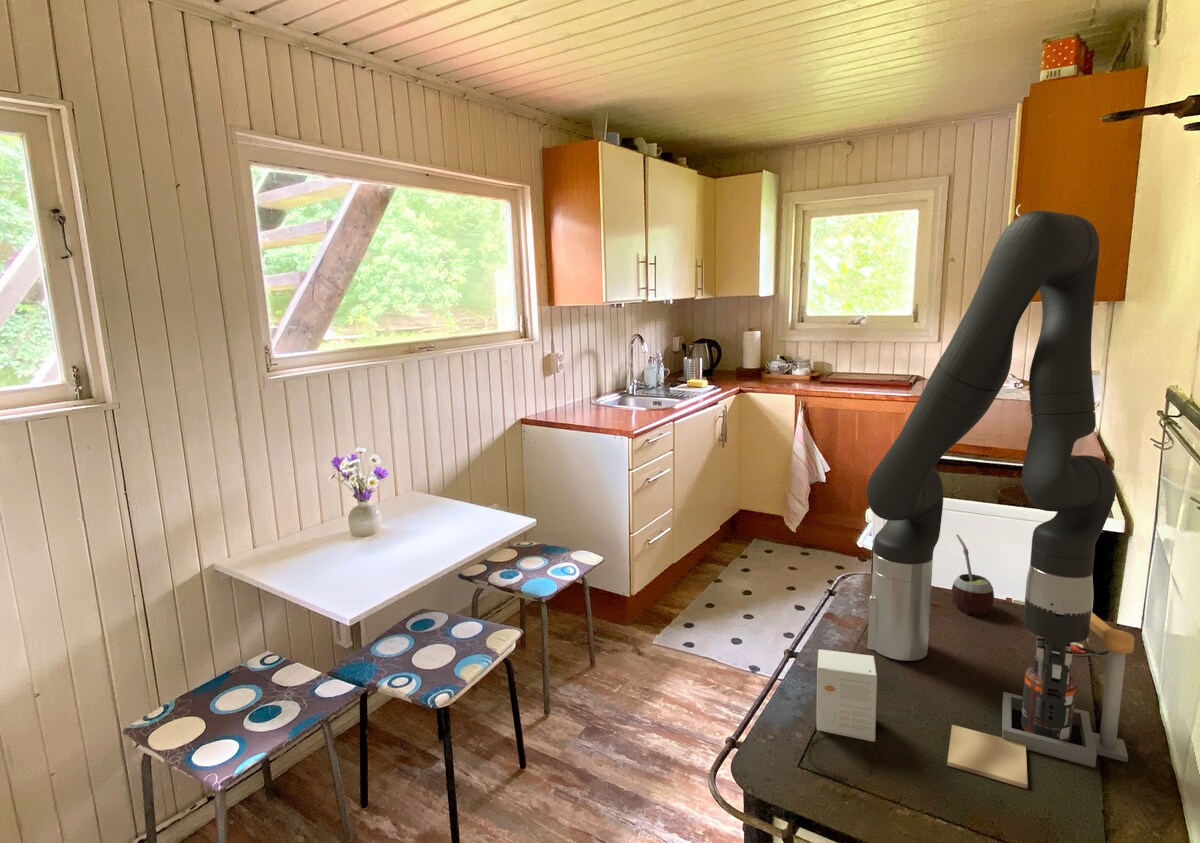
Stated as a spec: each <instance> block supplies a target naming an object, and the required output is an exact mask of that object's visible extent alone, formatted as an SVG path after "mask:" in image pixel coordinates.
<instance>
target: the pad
mask: <svg viewBox="0 0 1200 843" xmlns="http://www.w3.org/2000/svg"><path fill="white" fill-rule="evenodd" d="M946 762H947V763H946V766H948V767H951V768H955V769H958V770H961V771H964V772H965V771H966V772H969V773H972V774H976V775H978V776H982V777H986V778H988V779H992V780H996V781H999V782H1003V783H1005V784H1009V785H1013V786H1016V787H1019V788H1022V789H1026V790H1028V769H1027V768H1028V767H1027V766H1028V765H1027V764H1028V762H1027V749H1026V745H1024V744H1020V743H1016V742H1012V741H1008V740H1005V739H1002V736H1001V737H1000V736H997V735H994V734H993V735H992V734H989V733H985V732H981V731H978V730H974V729H970V728H966V727H962V726H959V725H955V724H951V730H950V738H949V746H948V755H947V761H946Z"/></svg>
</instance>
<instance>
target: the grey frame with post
mask: <svg viewBox="0 0 1200 843" xmlns="http://www.w3.org/2000/svg"><path fill="white" fill-rule="evenodd" d="M1108 651H1109V654H1107V656H1108V658H1107V664H1106V665H1107V666H1106V672H1105V673H1106V674H1105V682H1104V683H1105V684H1104V692H1103V701H1102V712H1101V722H1100V728H1099V729H1100V730H1099V733H1097V732H1094V731H1093V729H1092V724H1091V718H1090V714H1089V711H1087V710H1083V709H1080V708H1079V709H1078V708H1075V707H1074V712H1073V723H1072V726H1073V725H1075V726H1078V727H1079V732H1080V739H1081V745H1079V744H1075V743H1071V742H1064V741H1060V740H1056V739H1052V738H1048V737H1045V736H1041V735H1037V734H1033V733H1029V732H1025V731H1024V730H1021V729H1016V728H1013V727H1012V710H1014V711H1018V712H1020V713H1022V706H1023V696H1022V695H1019V694H1014V693H1010V692H1006V691H1003V693H1002V711H1001V712H1002V713H1001V714H1002V715H1001V716H1002V719H1001V720H1002V721H1001V722H1002V723H1001V724H1002V725H1001V728H1002V731H1001V738H1002V739H1005V740H1008V741H1012V742H1016V743H1020V744H1024V745H1026V751H1032V752H1035V753H1039V754H1042V755H1046V756H1051V757H1055V758H1057V759H1060V760H1061V759H1062V760H1066V761H1069V762H1072V763H1076V764H1079V765H1083V766H1088V767H1091V768H1096V764H1097V755H1098V756H1101V757H1105V758H1109V759H1112V760H1116V761H1120V762H1126V763H1128V761H1129V755H1128V750H1127V747H1126V743H1125V740H1124V739H1121V738H1119V737H1118V738H1117V736H1118V729H1119V719H1120V712H1121V710H1120V709H1121V703H1122V702H1121V701H1122V691H1123V683H1124V676H1125V675H1124V674H1125V667H1126V659H1125V658H1126V657H1127V654H1124V653H1118V652H1114V651H1111V650H1109V649H1108Z"/></svg>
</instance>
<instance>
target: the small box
mask: <svg viewBox="0 0 1200 843" xmlns="http://www.w3.org/2000/svg"><path fill="white" fill-rule="evenodd" d="M816 667H817V670H816V672H817V673H816V674H817V676H816V677H817V678H816V680H817V681H816V730H817V731H820V732H824V733H829V734H835V735H838V736H839V735H840V736H845V737H848V738H855V739H860V740H864V741H869V742H874V743H875V742H876V723H877V722H876V721H877V720H876V719H877V715H876V714H877V693H878V691H877V688H878V685H877V684H878V675H877V667H876V661H875V656H874V655H869V654H861V653H854V652H853V653H852V652H846V651H845V652H843V651H837V650H829V649H828V650H827V649H821V648H820V649H818V651H817V666H816Z"/></svg>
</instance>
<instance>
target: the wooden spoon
mask: <svg viewBox="0 0 1200 843" xmlns="http://www.w3.org/2000/svg"><path fill="white" fill-rule="evenodd" d="M1090 630H1091V631H1092V632H1094V633H1095V634H1096V635H1097V636H1098V637H1099V638H1100V639H1102V646H1103V647H1104V648H1105V649H1107V650H1108V651H1109V650H1111V651H1114V652H1118V653H1124V654H1126V655H1127V654H1132V653H1134V649H1135V648H1134V647H1135V641H1136V640H1135V639H1136V637H1135V636H1134V635H1133V634H1131V633H1129V632H1126V631H1123V630H1120V629H1115V628H1112V627H1111V626H1109V625H1108V624H1107V623H1106V622H1104V620H1102V619H1101V618H1100V617H1098V616H1097V615H1096V614H1095V613H1094V612H1092V611H1091V620H1090Z"/></svg>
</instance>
